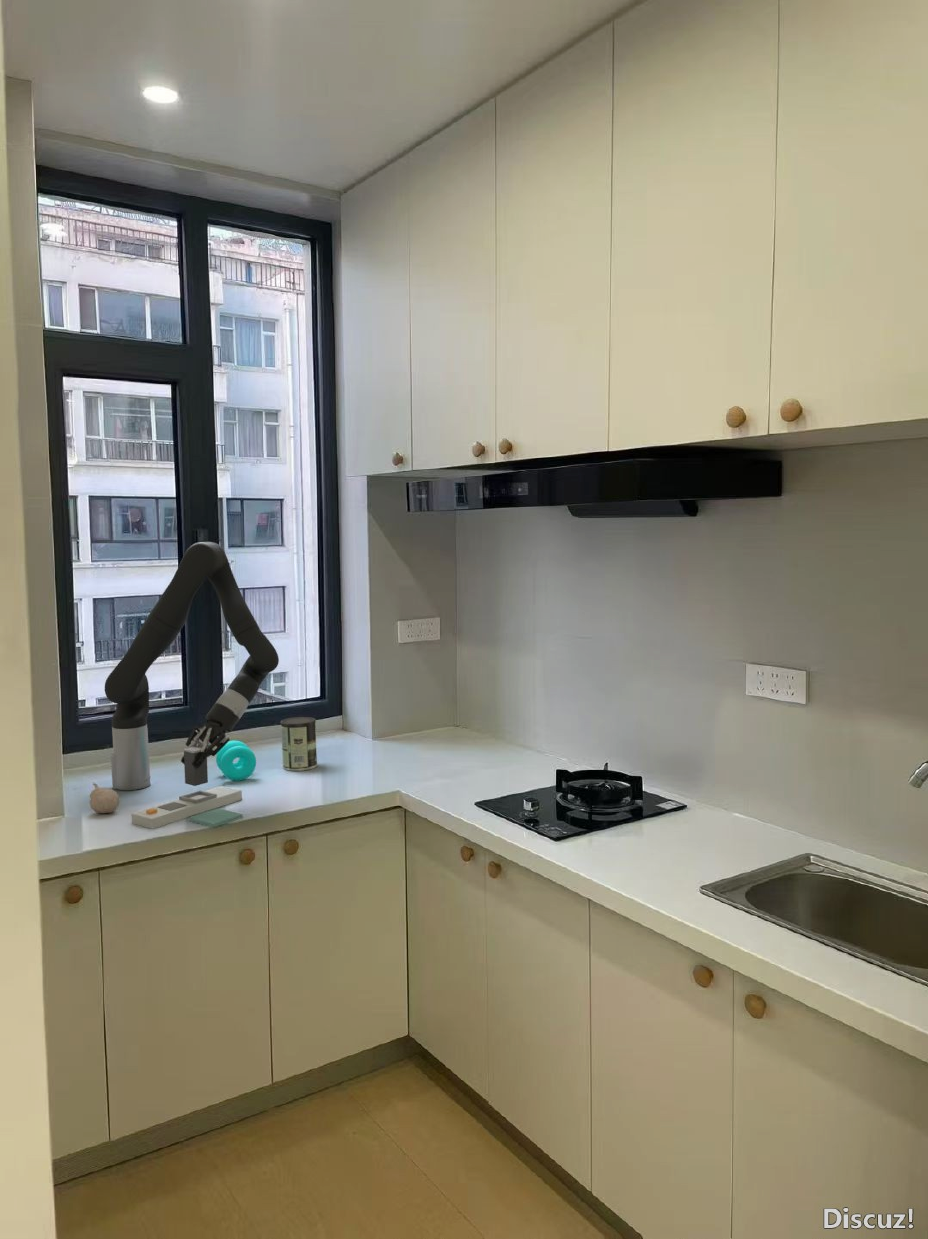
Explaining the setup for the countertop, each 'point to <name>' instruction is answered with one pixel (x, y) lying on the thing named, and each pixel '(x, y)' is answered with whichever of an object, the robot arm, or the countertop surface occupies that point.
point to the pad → (216, 817)
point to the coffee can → (299, 743)
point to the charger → (192, 773)
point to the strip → (185, 806)
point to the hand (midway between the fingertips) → (189, 764)
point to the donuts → (239, 768)
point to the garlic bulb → (104, 800)
